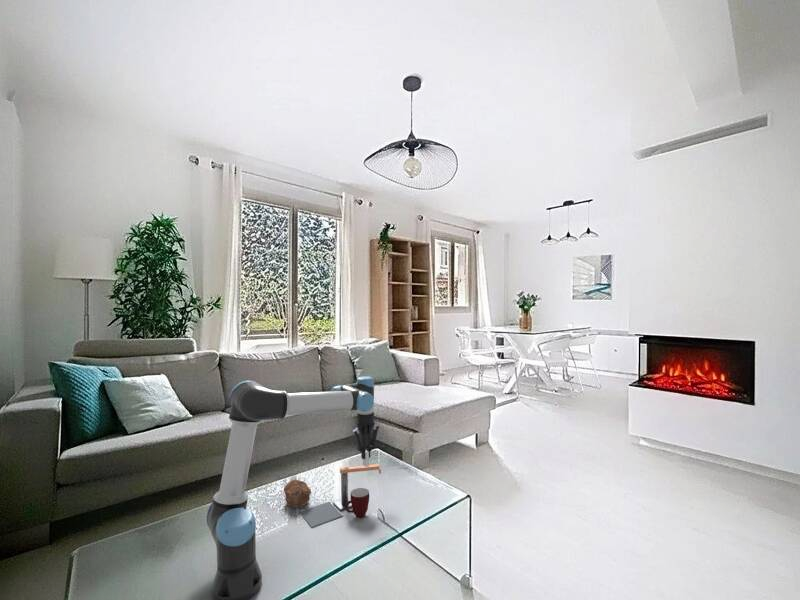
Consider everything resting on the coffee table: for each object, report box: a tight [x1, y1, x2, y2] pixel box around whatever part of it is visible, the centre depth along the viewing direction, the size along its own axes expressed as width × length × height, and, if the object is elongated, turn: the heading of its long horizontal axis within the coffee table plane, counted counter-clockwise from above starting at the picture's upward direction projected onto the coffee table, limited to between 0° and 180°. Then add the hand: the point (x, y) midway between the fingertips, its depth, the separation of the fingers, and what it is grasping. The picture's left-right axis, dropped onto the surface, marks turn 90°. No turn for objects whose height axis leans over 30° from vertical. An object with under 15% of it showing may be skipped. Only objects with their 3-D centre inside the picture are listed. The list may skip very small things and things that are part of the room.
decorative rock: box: [283, 478, 312, 508], centre depth 177 cm, size 13×11×10 cm
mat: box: [299, 501, 343, 529], centre depth 168 cm, size 14×14×1 cm
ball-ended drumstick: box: [339, 463, 382, 475], centre depth 177 cm, size 4×19×4 cm, turn 101°
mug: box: [345, 487, 370, 519], centre depth 166 cm, size 10×8×10 cm
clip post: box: [332, 473, 352, 512], centre depth 175 cm, size 8×8×14 cm
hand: (365, 465), depth 170 cm, fingers closed
